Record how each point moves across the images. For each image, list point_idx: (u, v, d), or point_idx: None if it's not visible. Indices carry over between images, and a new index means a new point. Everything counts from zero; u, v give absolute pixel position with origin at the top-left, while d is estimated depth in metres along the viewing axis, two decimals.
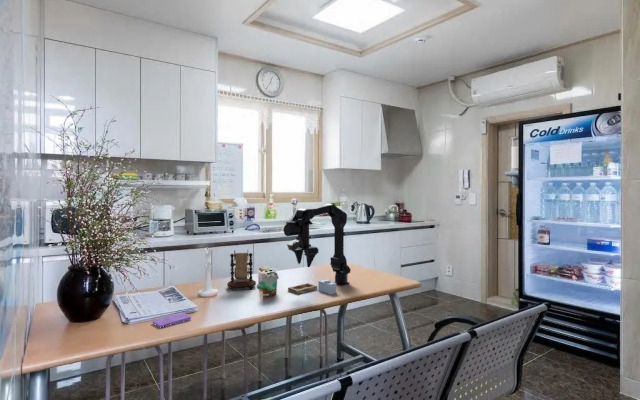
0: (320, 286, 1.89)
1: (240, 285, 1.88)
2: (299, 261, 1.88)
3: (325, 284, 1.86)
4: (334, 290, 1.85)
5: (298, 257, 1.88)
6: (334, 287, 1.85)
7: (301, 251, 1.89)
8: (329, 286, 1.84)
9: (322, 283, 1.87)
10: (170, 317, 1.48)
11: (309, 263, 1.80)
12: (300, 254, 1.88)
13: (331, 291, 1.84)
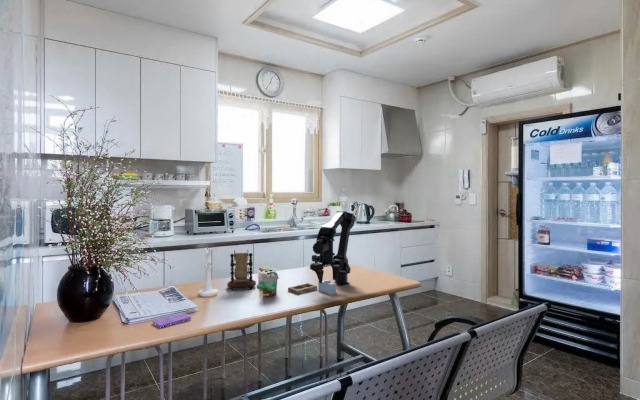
0: (320, 286, 1.89)
1: (240, 285, 1.88)
2: (333, 277, 1.91)
3: (325, 284, 1.86)
4: (334, 290, 1.85)
5: (333, 273, 1.91)
6: (334, 287, 1.85)
7: (336, 268, 1.90)
8: (329, 286, 1.84)
9: (322, 283, 1.87)
10: (170, 317, 1.48)
11: (319, 279, 1.84)
12: (335, 271, 1.90)
13: (331, 291, 1.84)
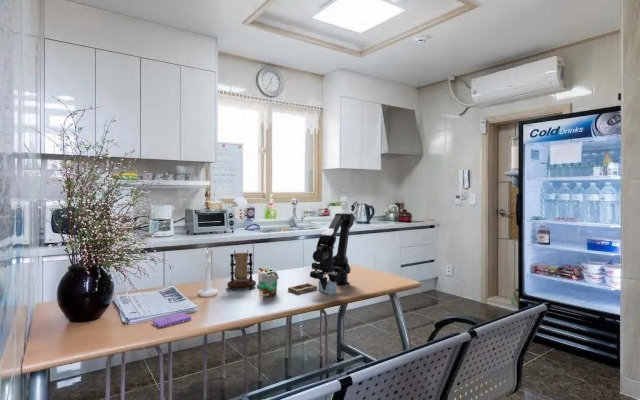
0: (320, 286, 1.89)
1: (240, 285, 1.88)
2: None
3: None
4: (335, 290, 1.85)
5: None
6: (334, 287, 1.85)
7: (333, 277, 1.88)
8: (329, 286, 1.83)
9: None
10: (170, 317, 1.48)
11: (323, 286, 1.86)
12: (332, 279, 1.88)
13: (332, 291, 1.84)
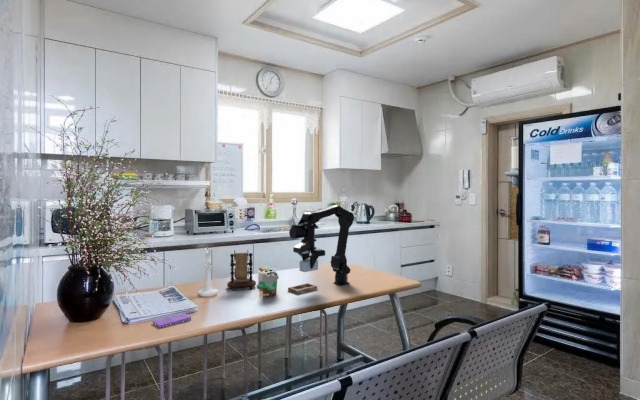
0: (307, 266, 1.85)
1: (240, 285, 1.88)
2: None
3: None
4: None
5: None
6: None
7: (307, 255, 1.91)
8: (317, 262, 1.90)
9: (309, 262, 1.86)
10: (170, 317, 1.48)
11: (312, 264, 1.86)
12: None
13: None
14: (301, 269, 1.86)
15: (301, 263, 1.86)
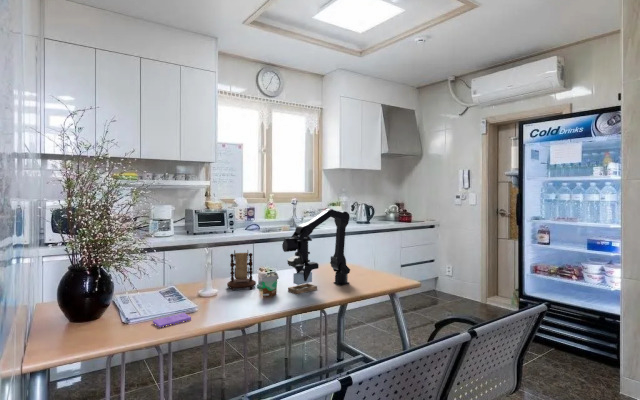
0: (300, 279, 1.86)
1: (240, 285, 1.88)
2: None
3: None
4: None
5: None
6: None
7: (302, 267, 1.93)
8: (310, 274, 1.91)
9: (303, 275, 1.87)
10: (170, 317, 1.48)
11: (306, 277, 1.88)
12: (301, 270, 1.92)
13: None
14: (295, 282, 1.87)
15: (295, 276, 1.87)
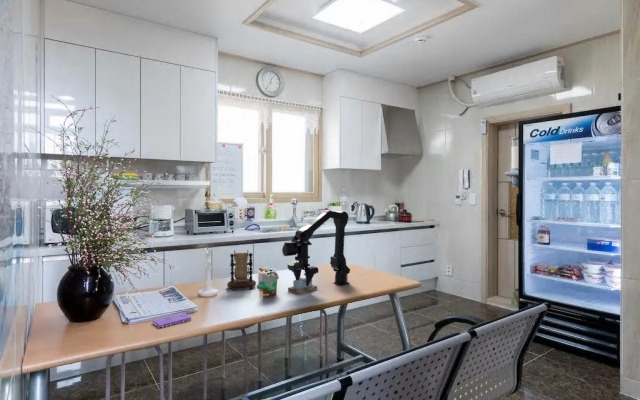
0: (300, 286, 1.87)
1: (240, 285, 1.88)
2: None
3: None
4: None
5: (297, 276, 1.93)
6: None
7: (299, 270, 1.94)
8: None
9: (303, 282, 1.87)
10: (171, 317, 1.48)
11: (308, 282, 1.86)
12: (299, 273, 1.94)
13: None
14: None
15: (295, 283, 1.87)
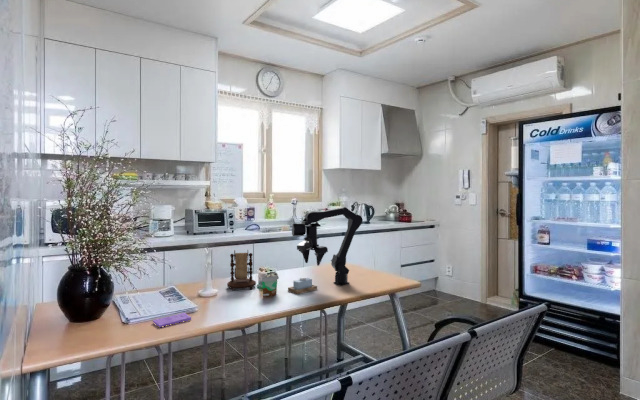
0: (300, 286, 1.87)
1: (240, 285, 1.88)
2: (306, 260, 2.01)
3: (306, 281, 1.89)
4: None
5: (305, 257, 2.01)
6: None
7: (308, 251, 2.02)
8: (310, 281, 1.91)
9: (303, 282, 1.87)
10: (171, 317, 1.48)
11: (319, 262, 1.94)
12: (307, 254, 2.02)
13: None
14: None
15: (295, 283, 1.87)
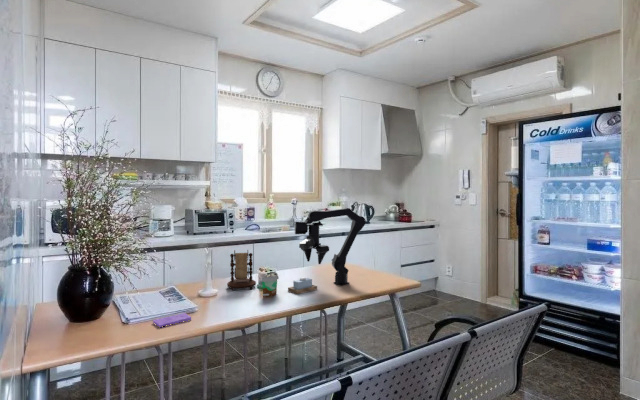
0: (300, 286, 1.87)
1: (240, 285, 1.88)
2: (308, 259, 2.03)
3: (306, 281, 1.89)
4: None
5: (307, 255, 2.03)
6: None
7: (310, 250, 2.04)
8: (310, 281, 1.91)
9: (303, 282, 1.87)
10: (171, 317, 1.48)
11: (320, 260, 1.96)
12: (309, 252, 2.04)
13: None
14: None
15: (295, 283, 1.87)
